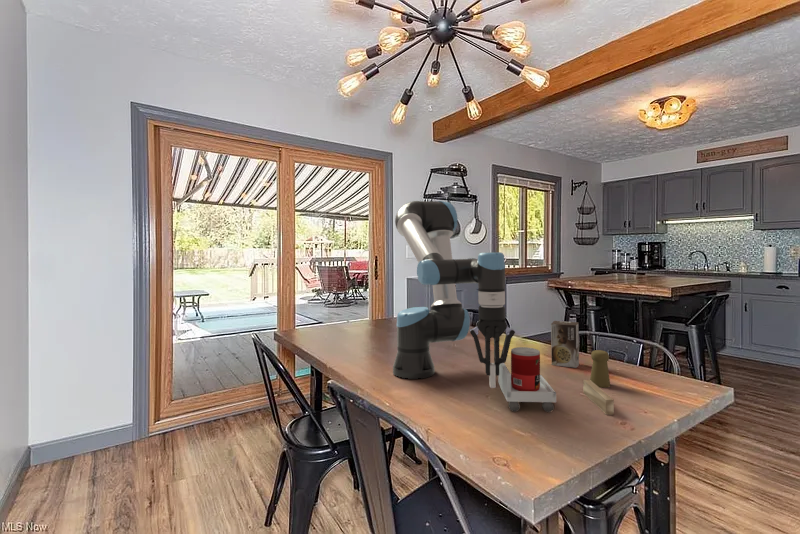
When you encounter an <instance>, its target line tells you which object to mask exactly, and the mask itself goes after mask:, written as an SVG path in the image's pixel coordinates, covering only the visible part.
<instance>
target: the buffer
mask: <svg viewBox="0 0 800 534" xmlns="http://www.w3.org/2000/svg"><path fill="white" fill-rule="evenodd" d="M582 386H583V390H582V391H583V394H584V395H585V396H586V397H587V398H588V399H589V400H590V401H592V403H594V405H596V407H598V409H600V411H601V412H603V413H604V414H605V415H606V416H607V415H608V416H611V415H612V416H614V415H615V414H614V413H615V412H614V411H615V409H614V406H615V404H614V403H615V401H614V399H613V398H612V397H611V396H610V395H609V394H607V393H606V392H605V391H604V390H603V389H602V388H601V387H598V386H597V385H596V384H594V383H593V382H592V381H591V380H590V379H583V385H582Z"/></svg>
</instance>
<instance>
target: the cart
mask: <svg viewBox="0 0 800 534" xmlns="http://www.w3.org/2000/svg"><path fill="white" fill-rule="evenodd" d="M507 367H508V366H507V365H506V364H505V363H501V364H500V365H499V376H497V377H498V381H497V383H498V385H499V387H500V390H501V393H503V396H504V398H505V400H506V402H508V408H509V410H511V412H518V411H519V410H520V407H521V406H520V403H521V402H522V403H542V404H541V407H542V409H543V410H544V411H545V412H547V413H551V412H553V411H554V409H555V407H554V406H555V405H554V404H553V403H557V392H556V391H555V390H554V389H553V387H552V386H551V385H550V383H548V381H547V379H545V378H544V376H543V375H542V374H540V388H539V390H538V391H518V390H515V389H514V388H513V387H512V385H511V371H510V370H509V369H508V368H507Z"/></svg>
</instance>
